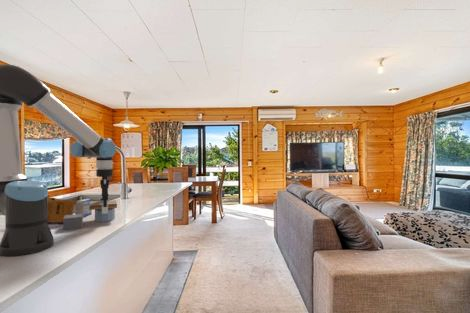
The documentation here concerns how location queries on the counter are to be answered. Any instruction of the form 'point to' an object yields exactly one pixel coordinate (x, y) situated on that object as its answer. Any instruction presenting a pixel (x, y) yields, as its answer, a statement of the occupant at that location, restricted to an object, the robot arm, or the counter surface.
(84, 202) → the medicine box
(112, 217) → the bowl
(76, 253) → the counter surface
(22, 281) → the counter surface
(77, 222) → the grey block
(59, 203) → the coffee package
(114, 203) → the walnut board
